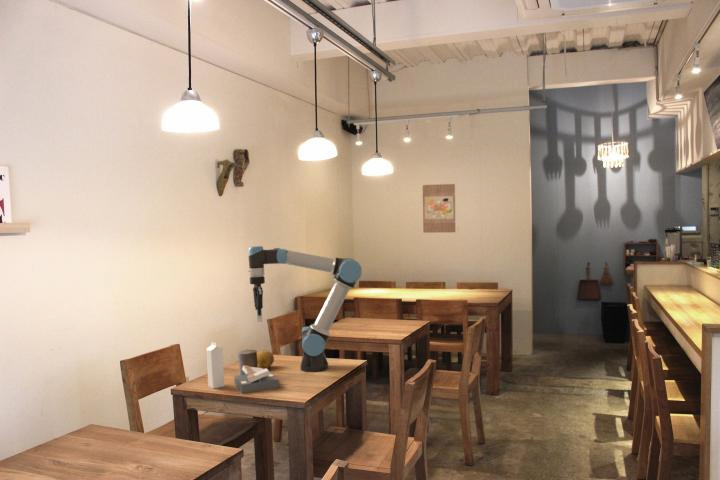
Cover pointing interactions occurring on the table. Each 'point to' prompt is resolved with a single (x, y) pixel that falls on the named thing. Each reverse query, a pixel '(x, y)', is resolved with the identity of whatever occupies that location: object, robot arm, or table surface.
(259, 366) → the potato
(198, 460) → the table surface
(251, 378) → the white flat box
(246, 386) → the grey tray
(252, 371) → the rocker
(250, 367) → the rocker
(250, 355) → the pillar candle
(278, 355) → the table surface
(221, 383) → the milk
